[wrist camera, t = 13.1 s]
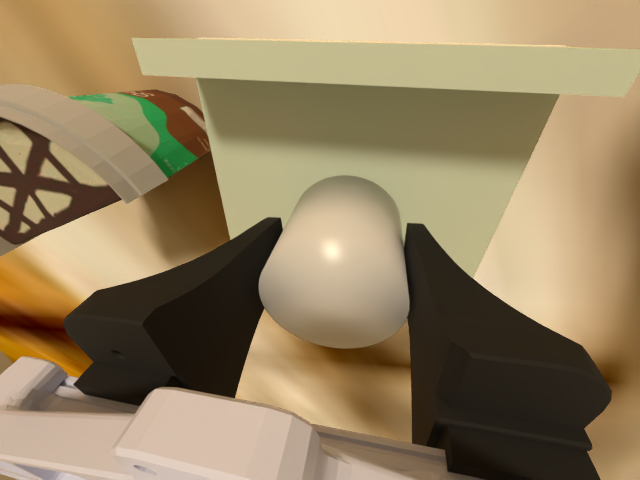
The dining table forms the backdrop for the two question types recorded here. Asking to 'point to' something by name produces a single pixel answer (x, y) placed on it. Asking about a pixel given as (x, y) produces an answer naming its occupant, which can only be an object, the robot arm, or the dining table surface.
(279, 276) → the cream rounded piece
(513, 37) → the dining table surface
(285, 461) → the robot arm
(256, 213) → the lid
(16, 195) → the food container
